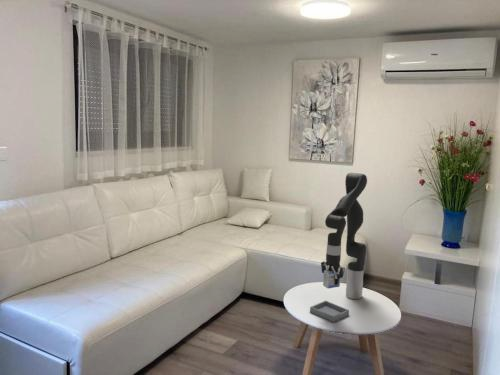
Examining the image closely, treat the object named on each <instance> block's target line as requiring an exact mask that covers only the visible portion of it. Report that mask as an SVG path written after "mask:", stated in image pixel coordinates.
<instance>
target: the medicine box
mask: <svg viewBox="0 0 500 375" xmlns="http://www.w3.org/2000/svg"><path fill="white" fill-rule="evenodd" d="M336 272H337V271H336ZM339 272H340V271H339ZM322 282H323V283H322V285H323V287H324V288H326V289H333V288H339V287H340V285H341V278H340V279H339V284H338V285H335V275H334V274H333V272H332V271H329V270H328V271H327V270H325V271H324V273H323V281H322Z"/></svg>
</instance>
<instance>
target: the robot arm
mask: <svg viewBox="0 0 500 375" xmlns="http://www.w3.org/2000/svg"><path fill="white" fill-rule="evenodd" d="M367 177H368V176H367V175H366V174H365V173H359V172H358V173H357V172H348V173H347V174H346V176H345V183H344V184H345V195H343V197H341V198H340V199H339V201H338V203H337V204H336V206H335V208H334V209H333V210H332V211H331V212H330V213H329V214H328V215H327V216H326V217H325V220H324V223H325V226H326V227H327V228H329V229H334V230H336V232H329V233H328V235H327V241H326V242H327V244H326V250H325V251H326V253H325V260H324V261H322V262H320V265H321V273H322V274H324V271H325V270H327V271H328V270H329V271H332V272H333V274H334V275H335V285H338V284H339V279H340V280H341V279H342V278H344V277H343V276H344V274H345V270H346V269H345V267H344V266H343V267H342V266H341V257H342V255H341V254H342V237H343V233H344V230H345V228H347V229H346V244H345V253H346V255H347V256H348V257H350V258H355V259H356V261H351V262H349V263H348V262H347V263H348V264H347V272H346V273H347V274H346V283H345V284H346V287H345V296H346V297H347V298H348V299H350V300H360V299H361V298H362V296H363V288H364V272H365V271H364V269H365V268H364V267H365V266H366V265H365V264H366V256H367V245H366V244H365V243H362V242H358V241H355V239H356V234H357V232H358V231H359V230H360V229H361V227H362V225H363V223H364V210H363V207H362V205H361V203H360V202H359V200H358V198H359V197H360V195H362V193H363V191H364V190H365V188H366V187H367V184H368V178H367ZM345 217H346V218H345ZM336 271H337V272H336ZM339 271H340V272H339Z"/></svg>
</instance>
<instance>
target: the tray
mask: <svg viewBox="0 0 500 375" xmlns="http://www.w3.org/2000/svg"><path fill="white" fill-rule="evenodd" d="M309 313H311V314H313V315H316V316H317V317H319V318H322V319H324V320H327V321H329V322H331V323H333V324H334V323H336V322H339V321H340V320H342V319H345V318H346V317H348V316H349V315H350V309H347V308H345V307H342V306H340V305H338V304H335V303H333V302H330V301H328V300H324V301H321V302H319V303H316V304H314V305H312V306H310V308H309Z"/></svg>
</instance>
